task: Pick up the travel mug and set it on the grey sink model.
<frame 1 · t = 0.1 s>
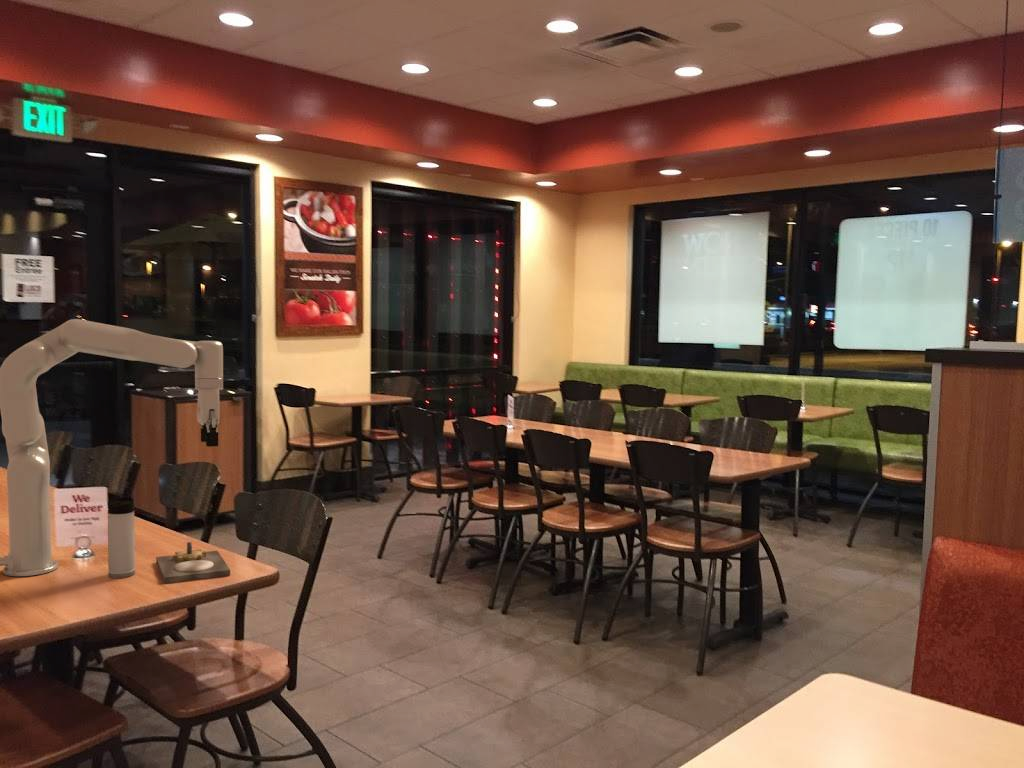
hand: (209, 443, 240), 31 cm above the table, fingers open, 9 cm apart
travel mug: (122, 575, 219), on the table
grey sink model: (192, 568, 225), on the table
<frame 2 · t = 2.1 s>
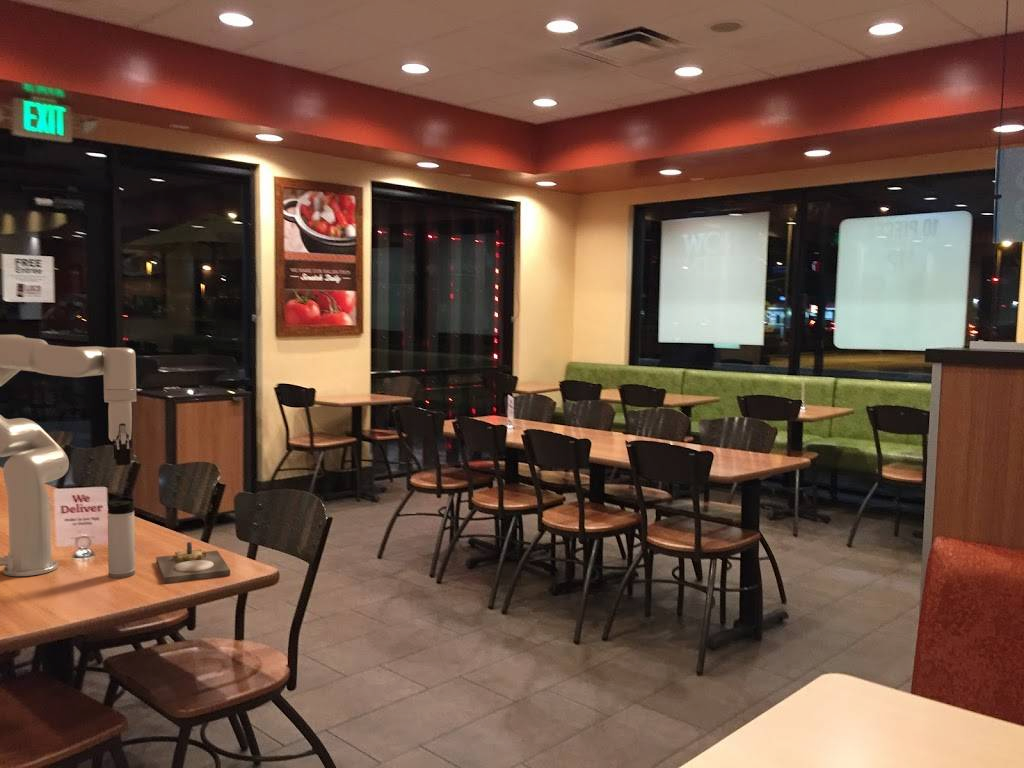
hand: (121, 461, 217), 30 cm above the table, fingers open, 9 cm apart
nothing on the table moved.
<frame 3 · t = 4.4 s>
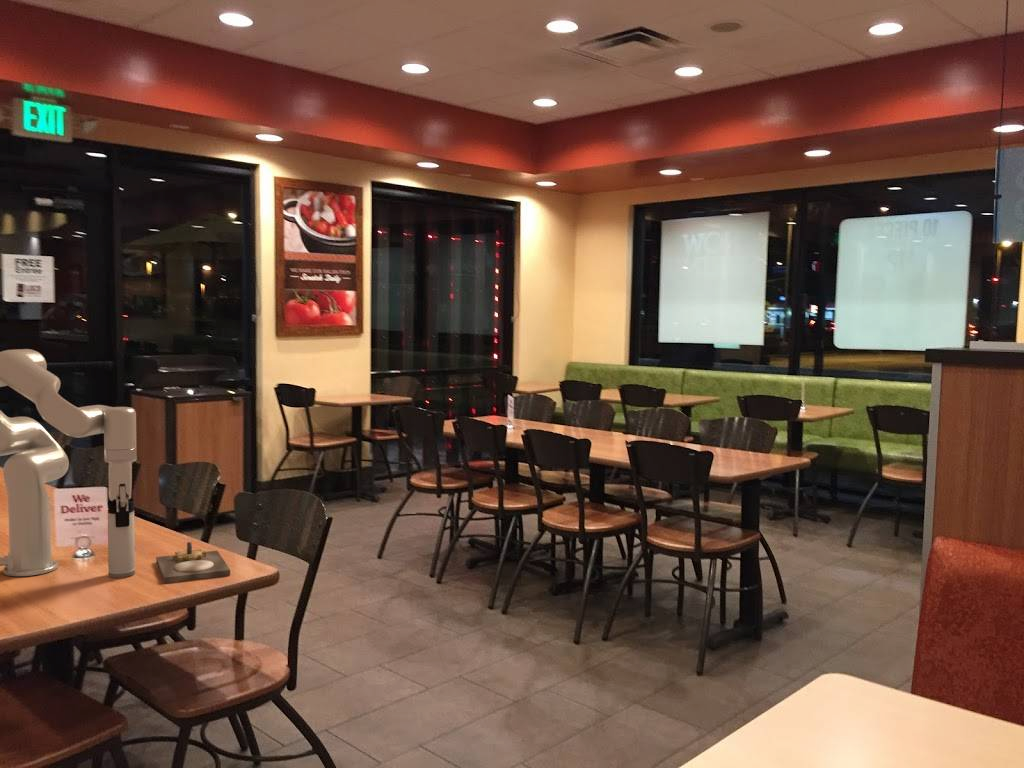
hand: (121, 523, 218), 14 cm above the table, fingers closed on travel mug, 6 cm apart
travel mug: (122, 575, 219), on the table, touching gripper
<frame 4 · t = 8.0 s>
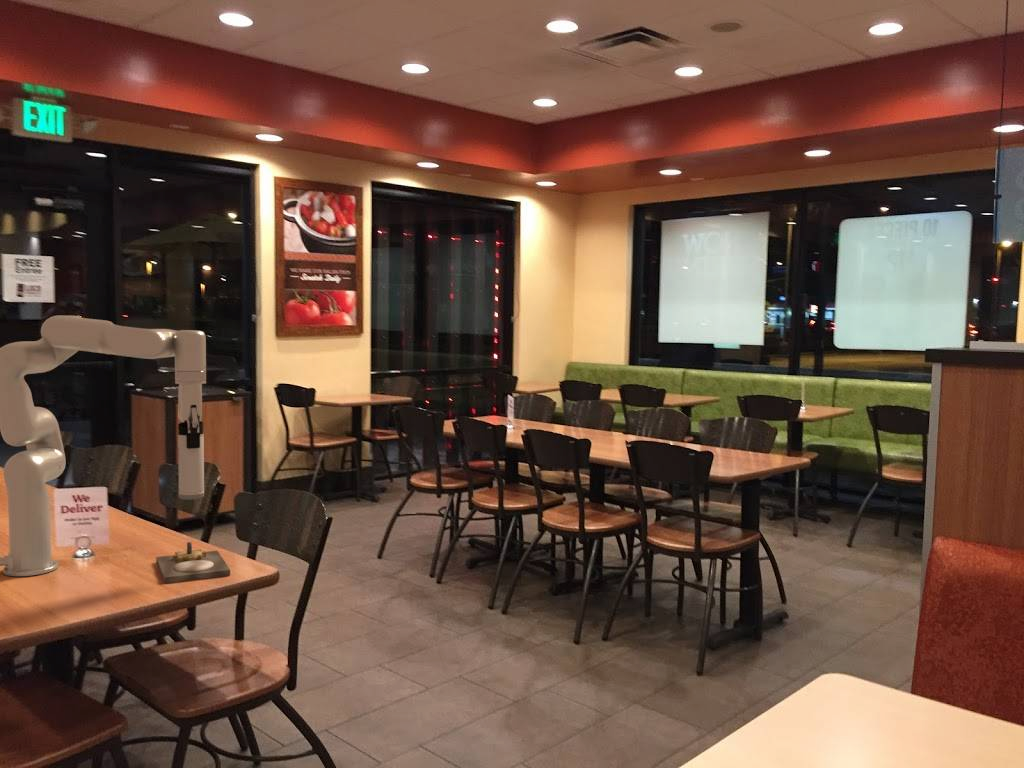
hand: (191, 445, 220), 34 cm above the table, fingers closed on travel mug, 6 cm apart
travel mug: (191, 497, 221), point 20 cm above the table, touching gripper
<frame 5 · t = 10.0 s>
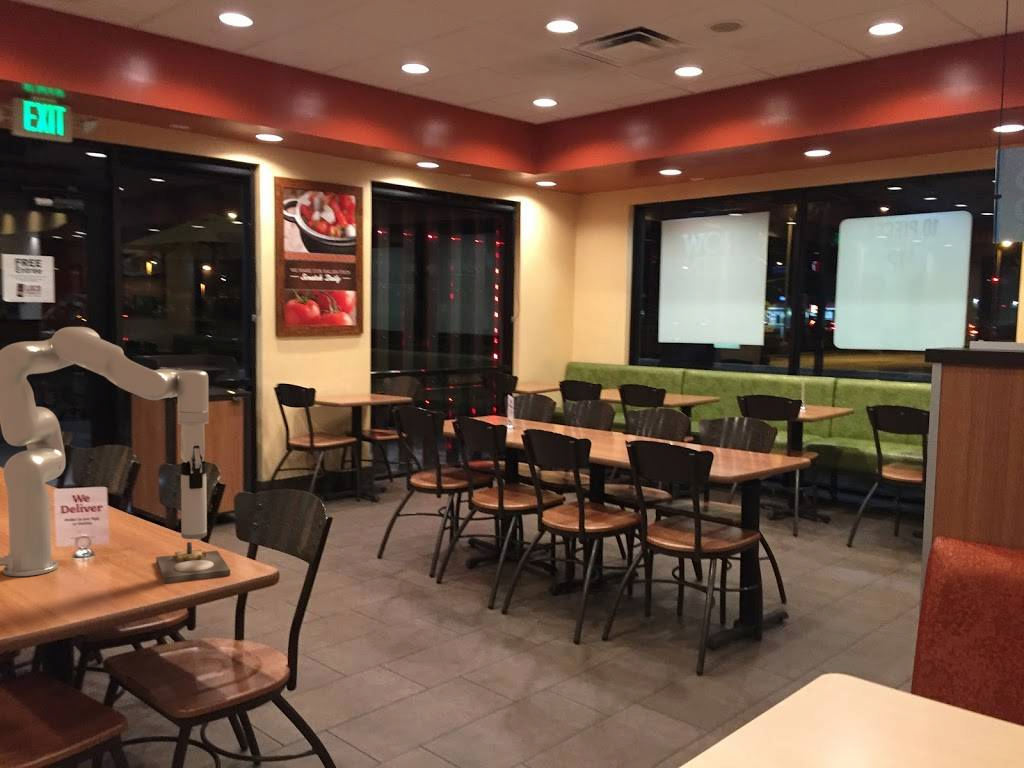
hand: (194, 485, 220), 23 cm above the table, fingers closed on travel mug, 6 cm apart
travel mug: (194, 536, 221), point 10 cm above the table, touching gripper
when the fingers open (16 cm above the table, at t = 11.8 s): travel mug stays where it is, resting on grey sink model.
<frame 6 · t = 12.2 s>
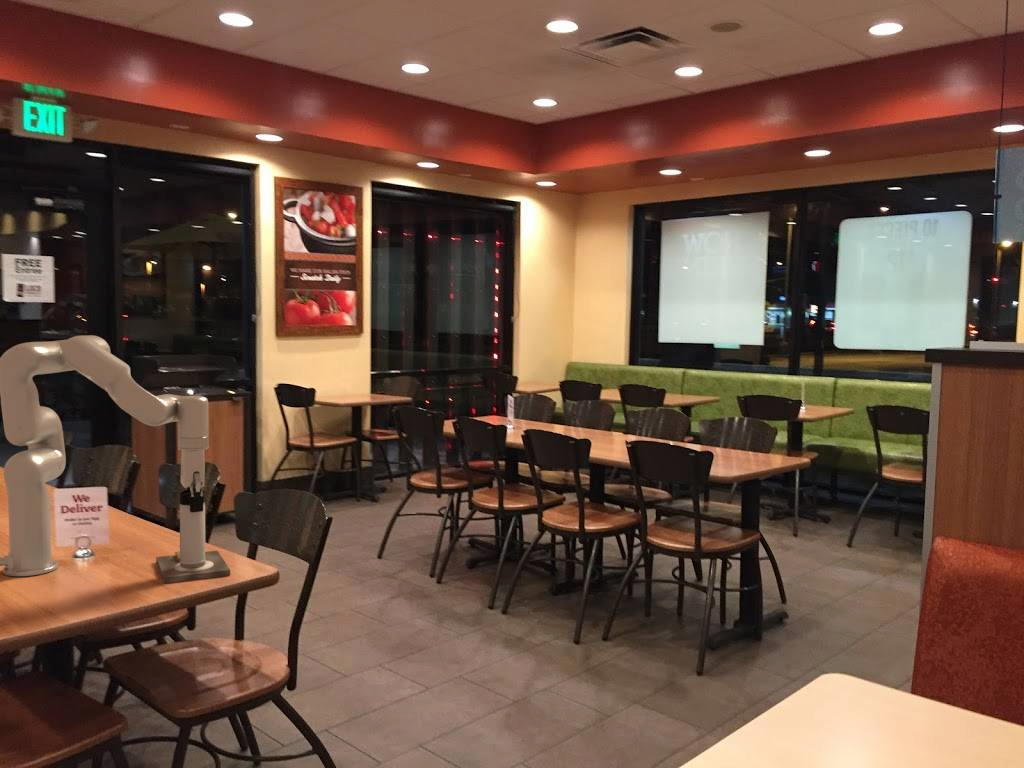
hand: (193, 507, 221), 17 cm above the table, fingers open, 9 cm apart
travel mug: (193, 565, 222), point 2 cm above the table, touching grey sink model
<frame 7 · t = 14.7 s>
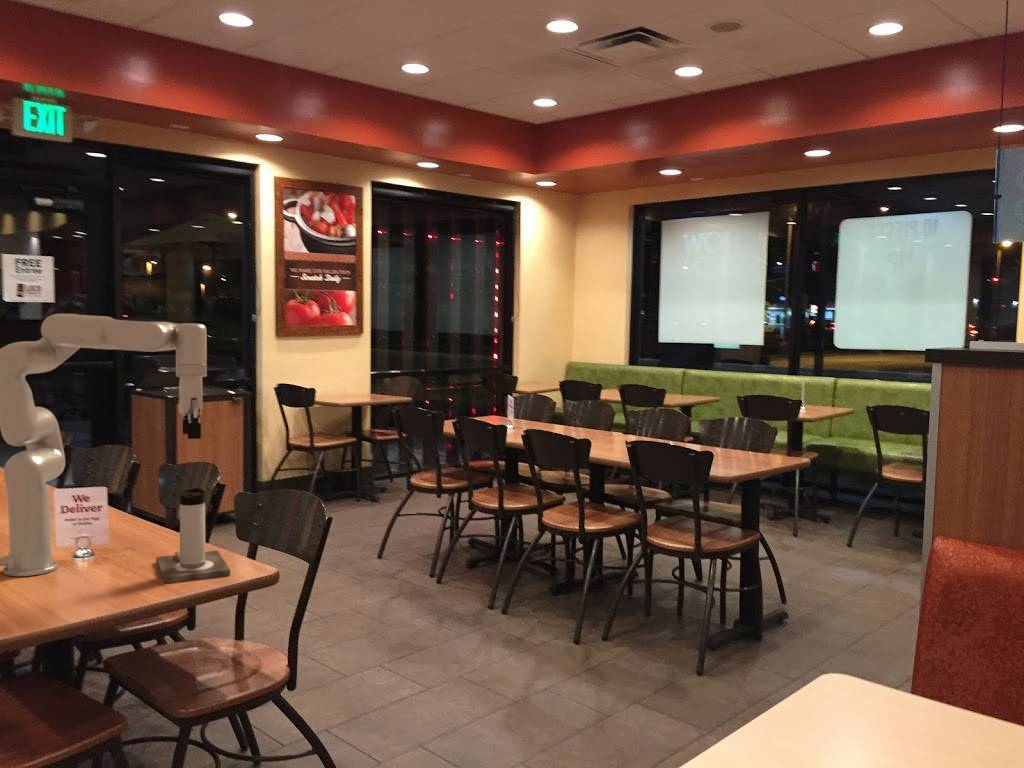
hand: (191, 436, 220), 36 cm above the table, fingers open, 9 cm apart
nothing on the table moved.
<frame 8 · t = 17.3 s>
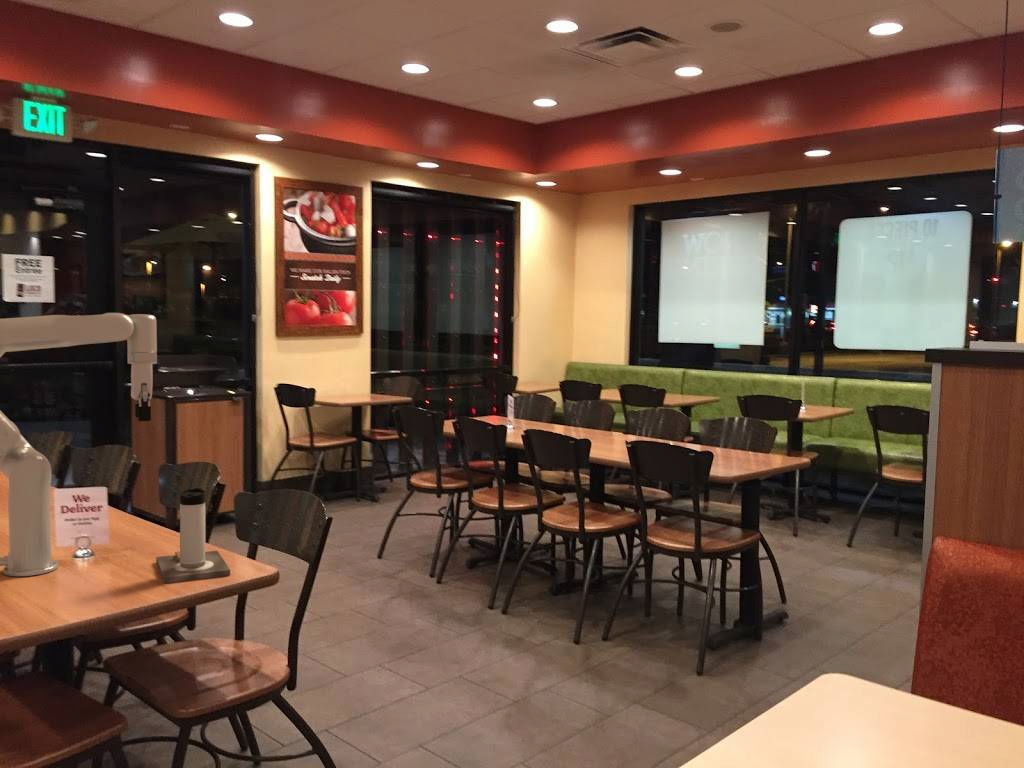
hand: (143, 419, 237), 38 cm above the table, fingers open, 9 cm apart
nothing on the table moved.
at the end: travel mug 0.4 cm from the target spot on the grey sink model, point 1.7 cm above the grey sink model's base; travel mug tilted 0°; the gripper is holding nothing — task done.
